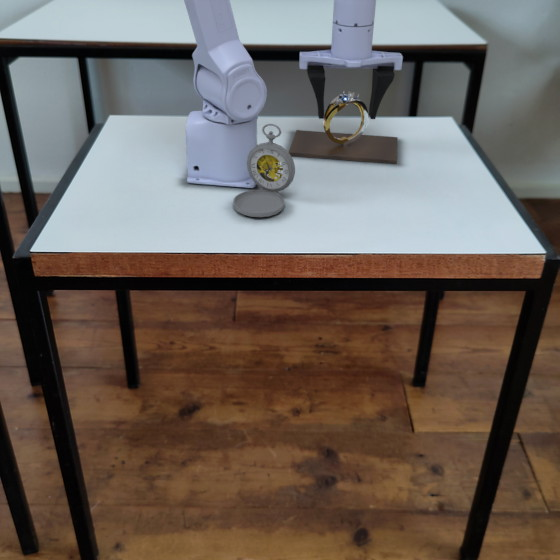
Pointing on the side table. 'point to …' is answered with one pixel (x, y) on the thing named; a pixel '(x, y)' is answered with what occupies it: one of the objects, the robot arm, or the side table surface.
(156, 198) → the side table surface
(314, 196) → the side table surface
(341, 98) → the ring
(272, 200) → the pocket watch
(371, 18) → the robot arm
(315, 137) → the mat
